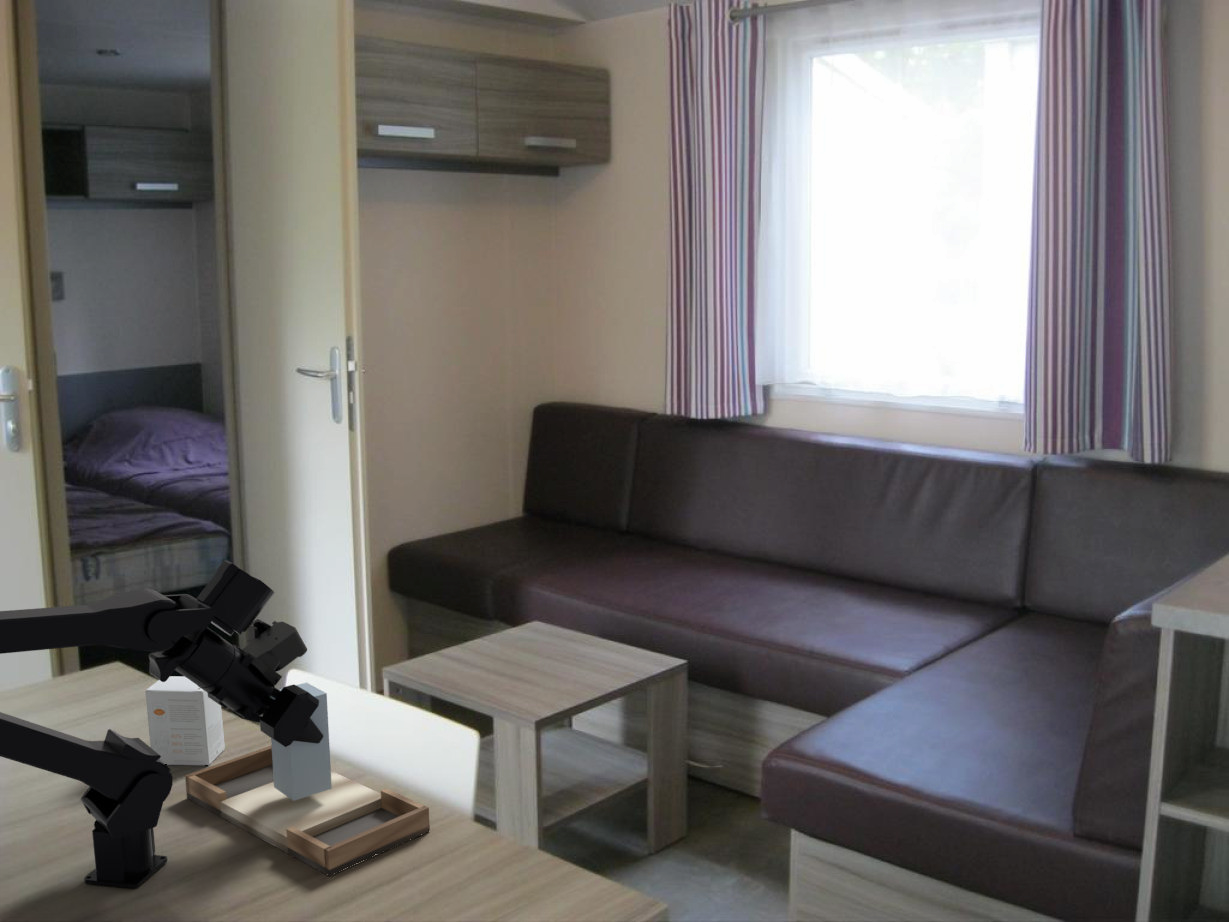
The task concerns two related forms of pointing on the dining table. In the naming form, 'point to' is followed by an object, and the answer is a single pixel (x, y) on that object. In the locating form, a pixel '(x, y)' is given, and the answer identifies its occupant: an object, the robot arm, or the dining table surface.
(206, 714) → the small box
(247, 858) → the dining table surface
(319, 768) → the block
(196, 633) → the robot arm
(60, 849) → the dining table surface
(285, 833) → the box
